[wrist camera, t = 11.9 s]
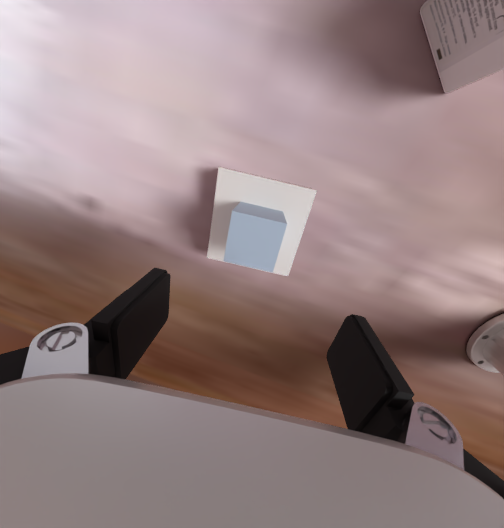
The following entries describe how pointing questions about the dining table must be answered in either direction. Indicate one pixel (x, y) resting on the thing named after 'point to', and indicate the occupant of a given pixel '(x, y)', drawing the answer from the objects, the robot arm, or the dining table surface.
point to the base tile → (266, 195)
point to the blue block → (255, 236)
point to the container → (465, 39)
